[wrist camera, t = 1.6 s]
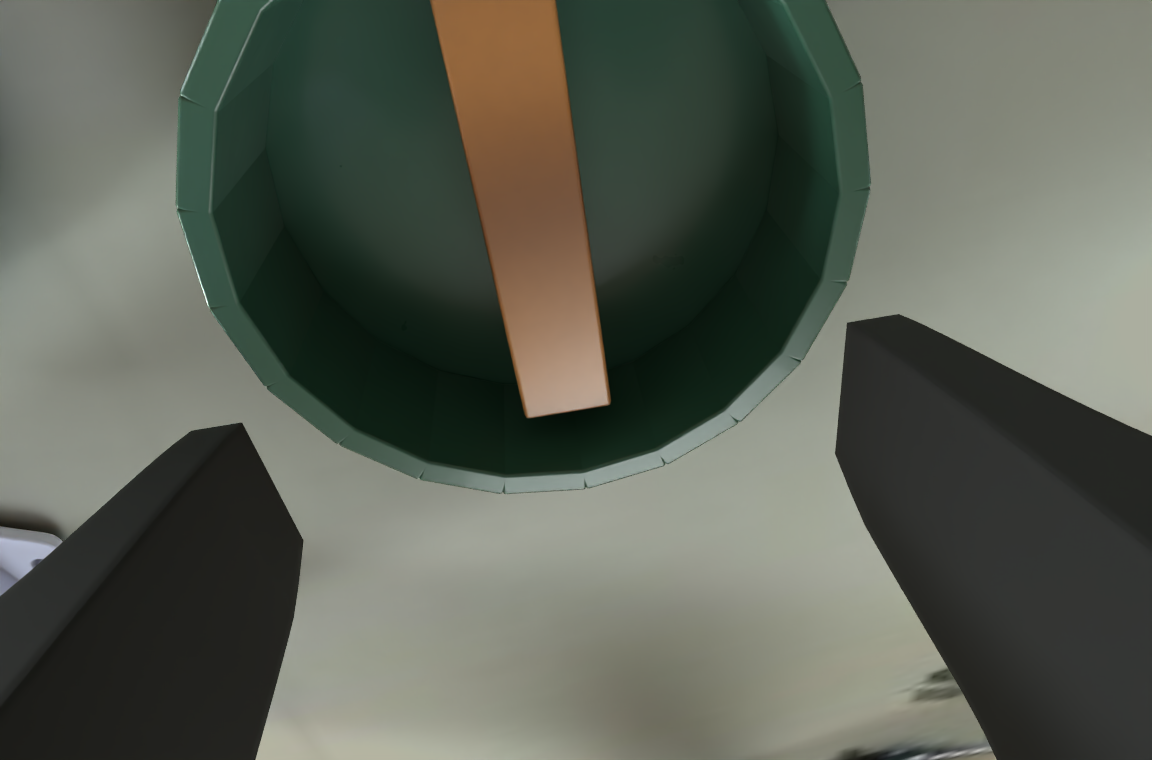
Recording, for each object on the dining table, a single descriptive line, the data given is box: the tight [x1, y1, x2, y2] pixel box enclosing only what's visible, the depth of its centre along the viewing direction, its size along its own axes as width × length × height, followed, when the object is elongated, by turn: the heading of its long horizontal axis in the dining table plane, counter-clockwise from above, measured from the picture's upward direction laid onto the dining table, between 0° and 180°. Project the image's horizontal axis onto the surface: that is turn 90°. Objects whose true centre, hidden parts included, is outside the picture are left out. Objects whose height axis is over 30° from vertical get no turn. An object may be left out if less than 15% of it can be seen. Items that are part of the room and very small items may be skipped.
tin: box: [176, 0, 871, 494], centre depth 15 cm, size 12×12×4 cm
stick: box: [430, 0, 611, 418], centre depth 15 cm, size 9×2×3 cm, turn 8°
